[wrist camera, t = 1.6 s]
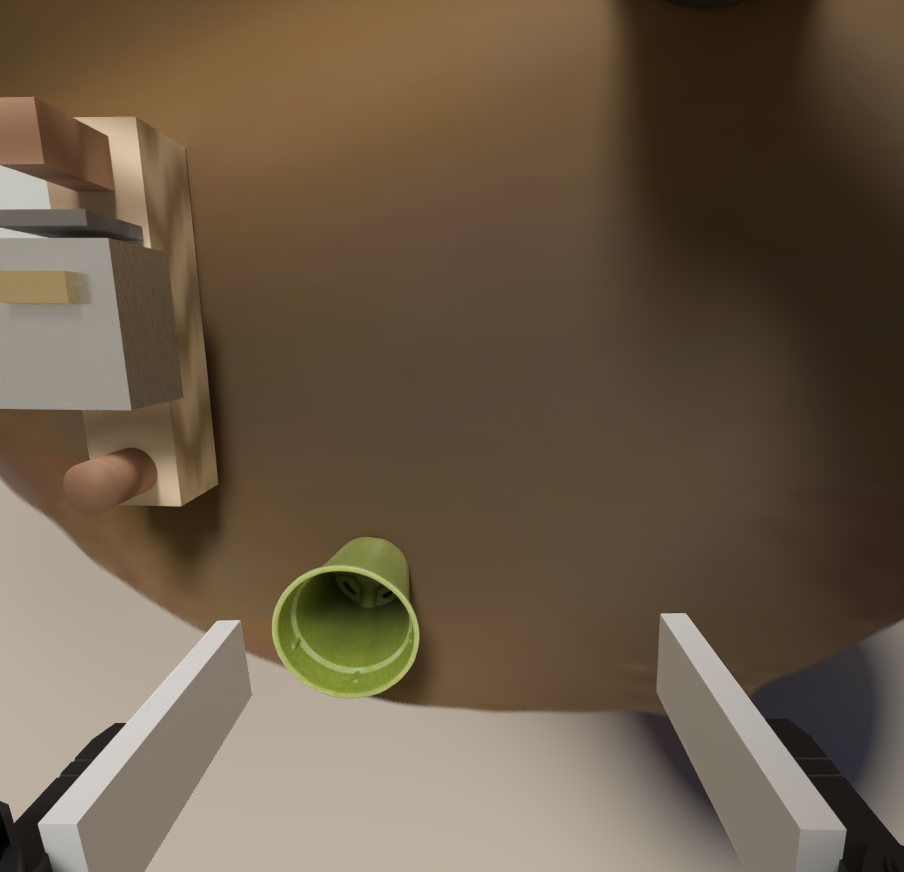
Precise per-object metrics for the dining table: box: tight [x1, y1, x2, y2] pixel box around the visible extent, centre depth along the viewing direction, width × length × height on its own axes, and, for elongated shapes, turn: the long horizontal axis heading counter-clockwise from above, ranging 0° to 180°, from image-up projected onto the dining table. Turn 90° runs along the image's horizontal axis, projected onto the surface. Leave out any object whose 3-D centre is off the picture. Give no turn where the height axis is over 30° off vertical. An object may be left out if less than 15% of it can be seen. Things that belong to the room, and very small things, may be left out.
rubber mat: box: [0, 165, 51, 238], centre depth 35 cm, size 14×11×1 cm
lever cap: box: [0, 238, 183, 410], centre depth 29 cm, size 9×8×6 cm
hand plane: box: [0, 97, 218, 514], centre depth 31 cm, size 24×6×10 cm, turn 0°
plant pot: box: [272, 537, 419, 698], centre depth 35 cm, size 9×9×9 cm
